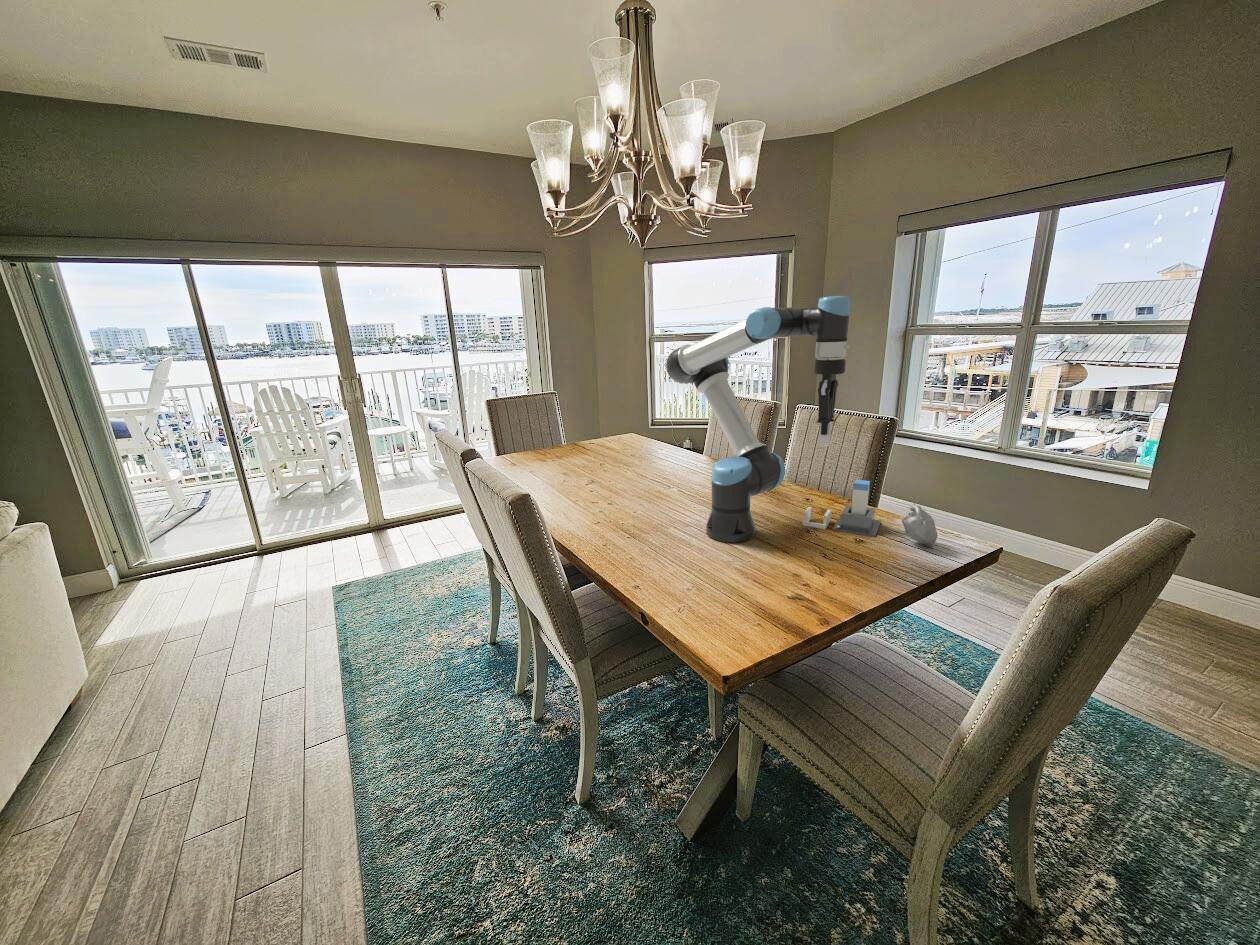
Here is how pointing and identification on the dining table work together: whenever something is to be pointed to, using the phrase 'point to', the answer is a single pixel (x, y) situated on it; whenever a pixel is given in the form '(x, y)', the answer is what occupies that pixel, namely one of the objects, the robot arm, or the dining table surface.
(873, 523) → the port panel
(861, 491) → the plug
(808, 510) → the holster
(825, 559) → the dining table surface
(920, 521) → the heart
